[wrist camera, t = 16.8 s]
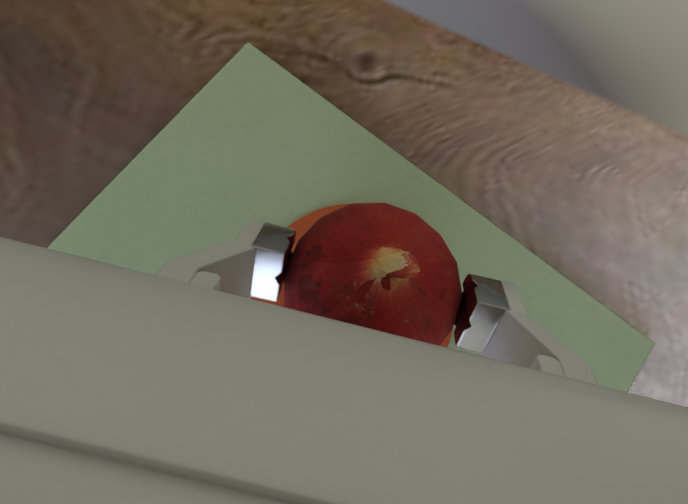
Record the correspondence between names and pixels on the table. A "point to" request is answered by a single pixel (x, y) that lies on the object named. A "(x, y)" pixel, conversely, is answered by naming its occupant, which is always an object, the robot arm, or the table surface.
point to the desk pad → (315, 202)
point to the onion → (376, 272)
